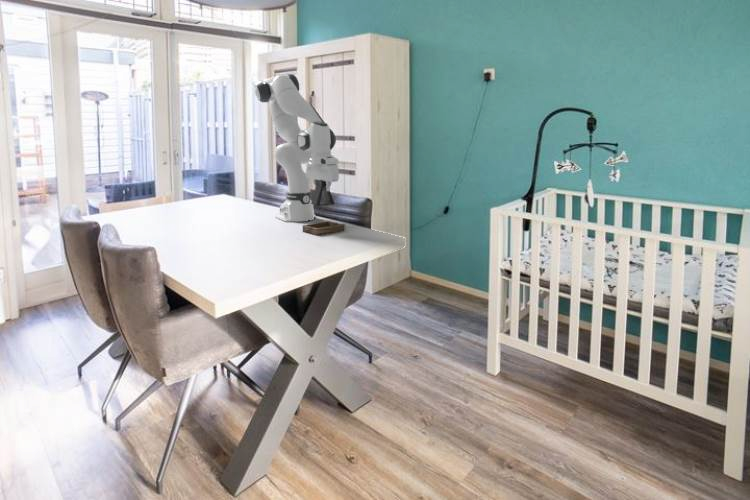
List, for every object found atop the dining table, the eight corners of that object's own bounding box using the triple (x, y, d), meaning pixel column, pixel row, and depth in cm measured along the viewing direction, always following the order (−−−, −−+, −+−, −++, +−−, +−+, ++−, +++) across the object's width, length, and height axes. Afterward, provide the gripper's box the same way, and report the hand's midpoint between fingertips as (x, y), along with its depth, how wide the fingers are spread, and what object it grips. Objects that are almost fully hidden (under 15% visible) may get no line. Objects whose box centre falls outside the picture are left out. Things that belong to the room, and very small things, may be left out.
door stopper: (316, 206, 234) (314, 179, 231) (311, 204, 239) (310, 177, 236) (334, 204, 238) (333, 177, 235) (329, 202, 243) (328, 176, 240)
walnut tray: (302, 231, 241) (302, 225, 240) (328, 227, 251) (328, 221, 250) (318, 236, 232) (318, 229, 232) (344, 230, 242) (344, 224, 241)
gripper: (302, 158, 239) (303, 188, 242) (329, 161, 224) (330, 193, 228) (313, 157, 243) (314, 187, 246) (340, 160, 228) (341, 191, 232)
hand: (322, 190), depth 237 cm, fingers closed on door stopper, 6 cm apart
